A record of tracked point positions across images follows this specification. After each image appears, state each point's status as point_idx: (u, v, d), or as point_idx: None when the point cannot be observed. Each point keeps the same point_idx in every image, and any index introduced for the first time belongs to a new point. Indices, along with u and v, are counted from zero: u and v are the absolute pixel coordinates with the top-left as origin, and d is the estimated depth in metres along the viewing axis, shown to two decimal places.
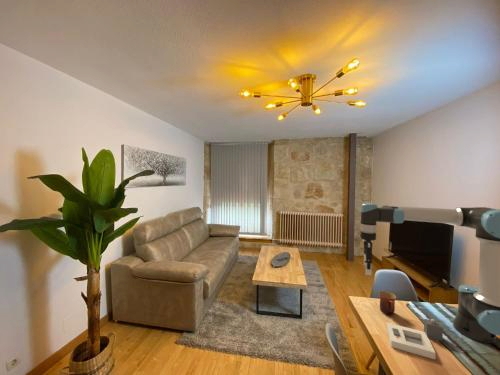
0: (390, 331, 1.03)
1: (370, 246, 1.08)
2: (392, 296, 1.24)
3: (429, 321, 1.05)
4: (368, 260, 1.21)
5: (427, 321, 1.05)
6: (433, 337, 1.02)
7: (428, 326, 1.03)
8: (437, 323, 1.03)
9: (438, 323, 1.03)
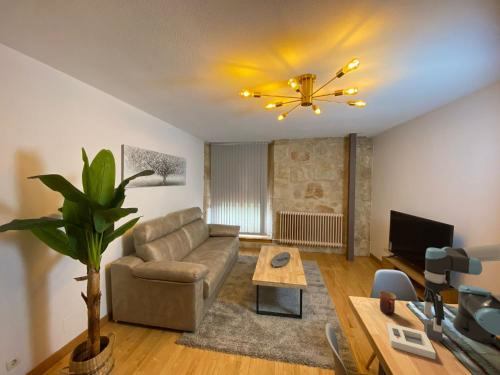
0: (390, 331, 1.03)
1: (441, 299, 0.97)
2: (392, 296, 1.24)
3: (429, 321, 1.05)
4: (430, 309, 1.09)
5: (427, 321, 1.05)
6: (433, 337, 1.02)
7: (428, 326, 1.03)
8: None
9: None
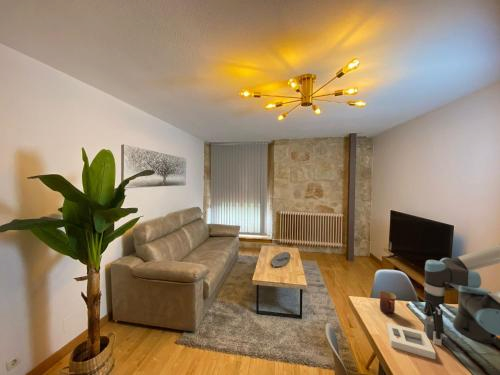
0: (390, 331, 1.03)
1: (440, 313, 0.97)
2: (392, 296, 1.24)
3: (429, 321, 1.05)
4: None
5: (427, 321, 1.05)
6: None
7: (428, 326, 1.03)
8: None
9: None
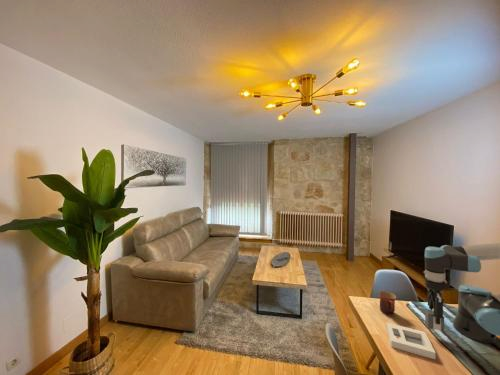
0: (390, 331, 1.03)
1: (441, 301, 0.97)
2: (392, 296, 1.24)
3: (430, 311, 1.05)
4: None
5: (428, 311, 1.05)
6: None
7: (429, 316, 1.03)
8: None
9: None
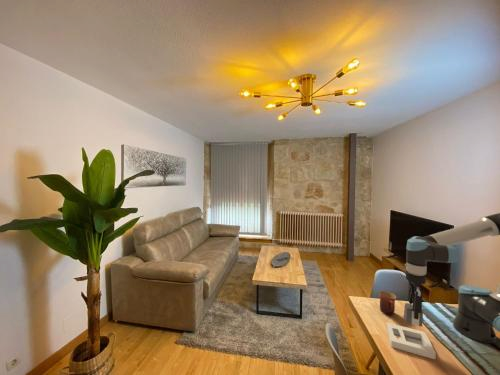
0: (390, 331, 1.03)
1: (420, 295, 0.93)
2: (392, 296, 1.24)
3: (409, 305, 1.00)
4: None
5: (407, 305, 1.00)
6: None
7: (408, 310, 0.98)
8: None
9: None
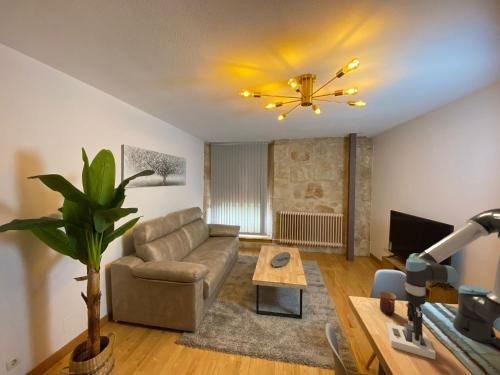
0: (390, 331, 1.03)
1: (420, 316, 0.93)
2: (392, 296, 1.24)
3: (409, 326, 1.00)
4: None
5: (407, 326, 1.00)
6: None
7: (408, 331, 0.98)
8: None
9: None
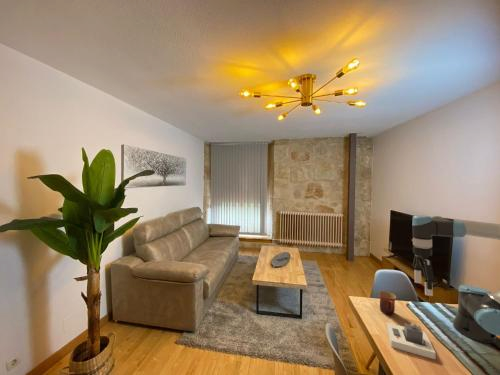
0: (390, 331, 1.03)
1: (430, 263, 0.99)
2: (392, 296, 1.24)
3: (409, 326, 1.00)
4: (420, 277, 1.11)
5: (407, 326, 1.00)
6: None
7: (408, 331, 0.98)
8: (417, 328, 0.99)
9: (418, 328, 0.99)
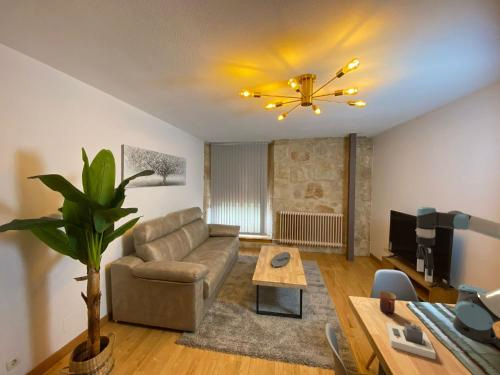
0: (390, 331, 1.03)
1: (431, 251, 1.05)
2: (392, 296, 1.24)
3: (409, 326, 1.00)
4: (422, 265, 1.17)
5: (407, 326, 1.00)
6: None
7: (408, 331, 0.98)
8: (417, 328, 0.99)
9: (418, 328, 0.99)
